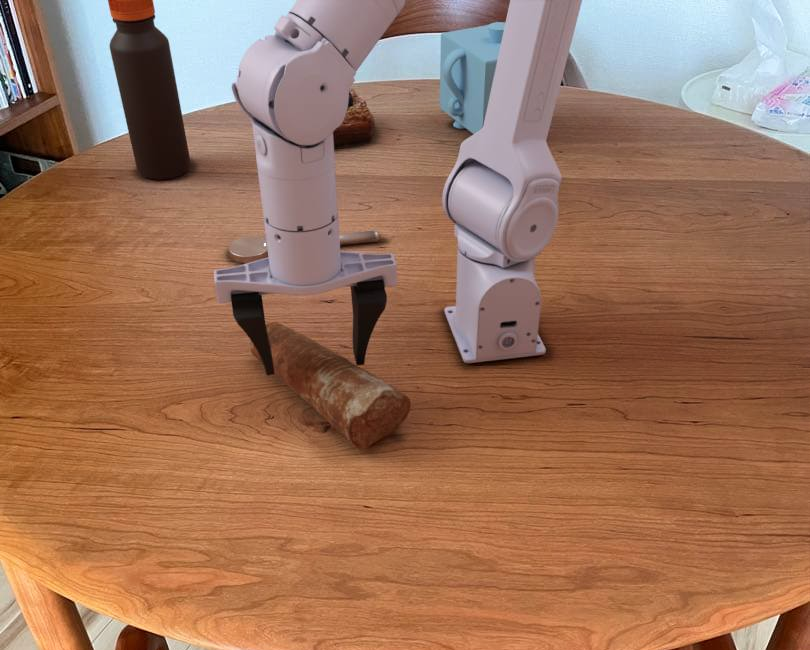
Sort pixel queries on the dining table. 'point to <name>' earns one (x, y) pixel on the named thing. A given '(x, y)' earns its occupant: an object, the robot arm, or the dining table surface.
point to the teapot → (469, 73)
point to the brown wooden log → (336, 387)
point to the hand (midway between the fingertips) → (314, 363)
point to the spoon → (257, 249)
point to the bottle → (148, 91)
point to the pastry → (354, 124)
